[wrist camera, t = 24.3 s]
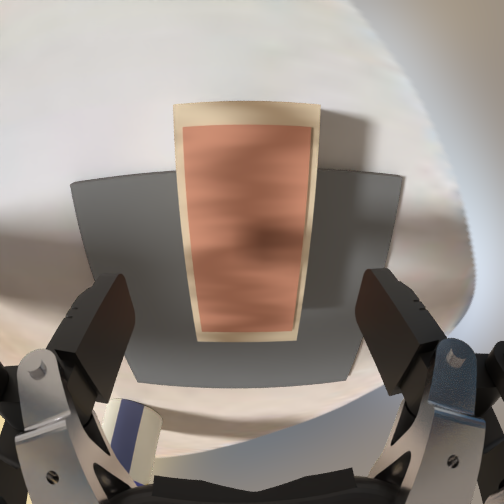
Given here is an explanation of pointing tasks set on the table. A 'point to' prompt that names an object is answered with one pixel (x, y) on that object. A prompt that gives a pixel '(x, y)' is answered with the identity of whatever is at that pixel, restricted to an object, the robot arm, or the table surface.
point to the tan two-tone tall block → (246, 214)
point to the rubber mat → (177, 290)
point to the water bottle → (133, 436)
